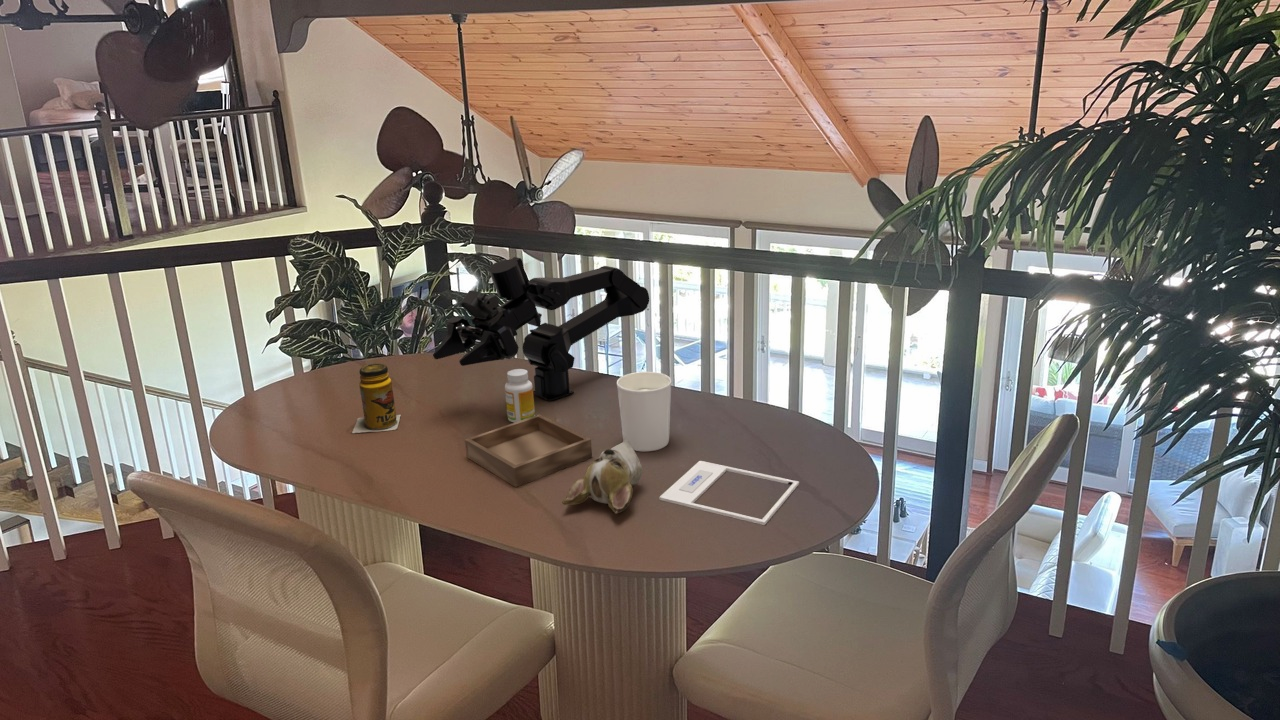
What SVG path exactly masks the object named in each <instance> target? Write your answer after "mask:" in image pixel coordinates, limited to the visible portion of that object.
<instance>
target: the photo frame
mask: <svg viewBox="0 0 1280 720" xmlns="http://www.w3.org/2000/svg"><path fill="white" fill-rule="evenodd" d="M726 472H729V473H734V474H739V475H743V476H744V475H745V476H749V477H754V478H758V479H764V480H768V481H772V482H777V483H782V484H786V485H787V484H788V485H789V483H791V485H790V486H789V487H788V489H786V491H785V492H784V493H783V494H782V495H781V497H780V498H779V499H778V500H777V501H776V502H775V504H774V505H773V506H772V507H771V509H770V510H769V511H768V512H767V513H766V514H765V515H764V517H762V519H761V518H757V517H754V516H748V515H746V514H745V515H744V514H741V513H737V512H732V511H730V510H729V511H728V510H724V509H720V508H716V507H712V506H709V505H708V506H707V505H703V504H700V503H699V504H698V503H695V502H696V501H697V500H698V499H699V498H700V497H701V496H702V495H704V493H705V492H706V491H708V489H710V487H711V486H712V485H714V484H715V483H716V482H717V481H718V480H719V478H721V477H722V475H724V474H725V473H726ZM799 485H800V481H798V480H794V479H793V480H791V479H790V478H789V479H787V478H784V477H780V476H774V475H770V474H766V473H761V472H755V471H752V470H751V471H750V470H746V469H740V468H738V467H737V468H736V467H732V466H727V465H723V464H722V465H721V464H717V463H713V462H708V461H704V460H699V461H697V462H696V463H695V464H694V465H692V467H691V468H690V469H688V470H687V472H685V473H684V474H683V475H682V476H681V477H680V478H679V479H678V480H676V481H675V482H674V483H673V484H672V485H671V486H670V487H669V488H668V489H667V490H665V491H664V492H662V494H661V495H660V496H659V498H658V499H659V501H663V502H665V503H666V502H667V503H671V504H674V505H679V506H683V507H687V508H692V509H695V510H699V511H705V512H707V513H712V514H716V515H721V516H724V517H730V518H734V519H737V520H741V521H745V522H749V523H754V524H758V525H763V526H765V525H766V524H767V523H768V522H769V521H770V520H771V518H772V517H773V516H774V515H775V513H776V512H778V510H779V509H780V508H781V506H782V505H783V504H784V503H785V502H786V500H787V499H788V498H789V497H791V495H792V493H793V492H794V491H795V489H796V488H797V487H798V486H799Z"/></svg>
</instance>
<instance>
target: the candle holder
mask: <svg viewBox="0 0 1280 720" xmlns="http://www.w3.org/2000/svg"><path fill="white" fill-rule="evenodd" d="M672 383H673V382H672V378H671V377H670V376H669V375H666V374H665V373H662V372H657V371H637V372H632V373H631V372H630V373H627V374H624V375H622V376H620V377H619V378H618V379H617V380H616V387H617V396H618V404H619V405H618V406H619V414H620V424H621V430H622V431H621V433H622V442H624V441H625V440H628V441H629V443H630V445H631V447H632V448H633V449H634V451H635V452H654V451H658V450H661V449H663V448H665V447H666V446H667V445H668V444H669V442H670V427H671V424H670V423H671V397H672V396H671V395H672Z"/></svg>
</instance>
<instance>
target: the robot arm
mask: <svg viewBox="0 0 1280 720" xmlns="http://www.w3.org/2000/svg"><path fill="white" fill-rule="evenodd" d="M523 262H524V261H523V260H522V258H521V257H516V256H514V257H511V258H510V259H509V258H508V259H504V260H501V261H497V262H494V263H492V265H490V267H489V268H488V272H489V274H490V277H491V280H492V283H493V285H494V288H495V291H496V293H497V294H494V293H493V294H491V293H490V294H486V293H482V292H481V291H476V290H468V292H467V293H466V294H465V296H464V297H463V298H462V300H461V301H460V303H459V305H460V306H461V307H462V308H464V309H465V310H466V311H467V312H468V314H470V315H471V316H472V317H471V318H470V320H471V323H472V324H473V325H474V326H471V325H470V323H469V320H468V319H464V318H461V317H457V316H452V317H451V318H449V319H447V320H446V321H445V328H446V331H447V333H446V336H445V338H444V339H443V341H442V342H441V343H440V344H439V346H438V347H437V349H436V350H435V351H434V352H433V354H432V356H433V359H434V360H441V359H443V358H447V357H450V356H454V355H455V356H456V355H458V354H461V353H465V355H463V356H462V357H461V359H459V364H460V366H463V367H465V366H470V365H475V364H481V363H487V362H493V361H499V360H500V361H504V360H507V359H508V360H511V359H512V358H514V357H515V356H516V355H518V352H519V348H520V347H519V345H518V343H517V340H516V338H515V337H516V336H518V332H517V331H518V330H519V329H521V328H522V327H524V326H525V325H526V324H528V325H531V326H533V327H536V328H533V329H529V332H530V333H528V334H527V335H526V336H525V337H524V339H523V344H522V353H523V355H524V357H525V358H526V359H527V360H528V362H529V363H528V364H530V366H535V367H534V376H533V380H534V381H533V382H534V390H533V395H535V396H537V397H539V398H540V399H543V400H546V401H548V402H552V401H555V400H558V399H560V398H561V399H562V398H564V397H567V396H571V395H573V394H575V391H574V390H573V389H571V388H570V378H569V369H572V368H573V367H574V364H575V359H576V358H575V357H574V356H573V355H572V354H570V352H569V351H570V349H571V348H572V347H571V346H573V345H574V344H576V343H577V342H580V341H581V340H582V339H584V338H586V337H587V336H590V335H591V334H592V333H594V332H596V331H598V330H600V329H601V328H603V327H604V326H606V325H608V324H609V323H611V322H613V321H614V320H616V319H618V318H623V317H628V316H630V317H631V316H635V315H637V314H640V313H642V312H644V311H645V310H646V309H647V308H648V306H649V303H650V294H649V291H648V289H647V288H646V287H645V286H642V285H640V284H639V283H638V282H636V281H635V280H634V279H632V278H630V277H629V276H627V275H626V274H625V273H624V272H623V270H621V269H620V268H618V267H614V266H609V265H603V266H600V267H599V268H595V269H590V270H587V271H584V272H580V273H579V272H578V273H576V274H572V275H568V276H564V277H547V276H546V277H545V276H544V277H533V278H531V279H528V276H527V273H526V270H525V268H524V267H525V266H524V263H523ZM600 290H603V291H604V292H605V294H606V295H605V298H604V299H603V300H602V301H600V302H598V303H596V304H595V305H593V306H591V307H589V308H588V309H586V310H585V311H583V312H581V313H579V314H577V315H576V316H574V317H572V318H571V319H569V320H567V321H566V322H564V323H562V324H560V325H556V324H551V323H548V322H544V323H542V320H541V319H542V315H543V314H542V313H540V312H539V311H538V308H540V309H545V310H549V311H555V310H558V309H559V308H561V307H563V306H565V305H567V304H568V302H569V301H570V300H571V299H572V298H575V297H579V296H582V295H586V294H590V293H593V292H596V291H600ZM500 298H501V299H505V302H503V304H501V305H500ZM476 341H479V342H478V343H477V344H476ZM467 350H469V351H468V352H467ZM466 352H467V353H466Z"/></svg>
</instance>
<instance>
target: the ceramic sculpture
mask: <svg viewBox="0 0 1280 720" xmlns="http://www.w3.org/2000/svg"><path fill="white" fill-rule="evenodd" d="M642 475H643V466H642V464H641V462H640V459H639V457H638V455H637V453H636V451H635V450H634V449H633V448H632V447H631V445H630V443H629V441H628V440H625V441H622V442H621V443H619V444H616V445H615V446H613V447H612V448H610V449H609V448H607V449H605V450H603V451H602V452H601V453H600V455H599V457H597V458H596V459H595V460H593V461H592V463H591V464H590V465H589V466H588V468H587V469H586V472H585V475H584V477H581V478H579V479H576V480H575V481H574V483H573V484H572V485H571V486H570V488H569V491H568V492H567V495H566V497H565V499H563V500H562V501H561V503H562V505H564V506H568V505H580V504H583V503H584V502H586V500H587V499H588V498H589V497H591V499H592V500H594V501H595V502H598V503H601V504H608V507H609V508H610V509H611V510H612V512H614V514H616V515H617V514H619V513H621V512H622V513H623V512H624V511H625V510H626V509H627V508H628V507H629V506H630V504H631V501H632V498H633V494H634V489H633V486H635V485H637V484H638V483H639V481H640V480H641V478H642Z"/></svg>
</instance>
